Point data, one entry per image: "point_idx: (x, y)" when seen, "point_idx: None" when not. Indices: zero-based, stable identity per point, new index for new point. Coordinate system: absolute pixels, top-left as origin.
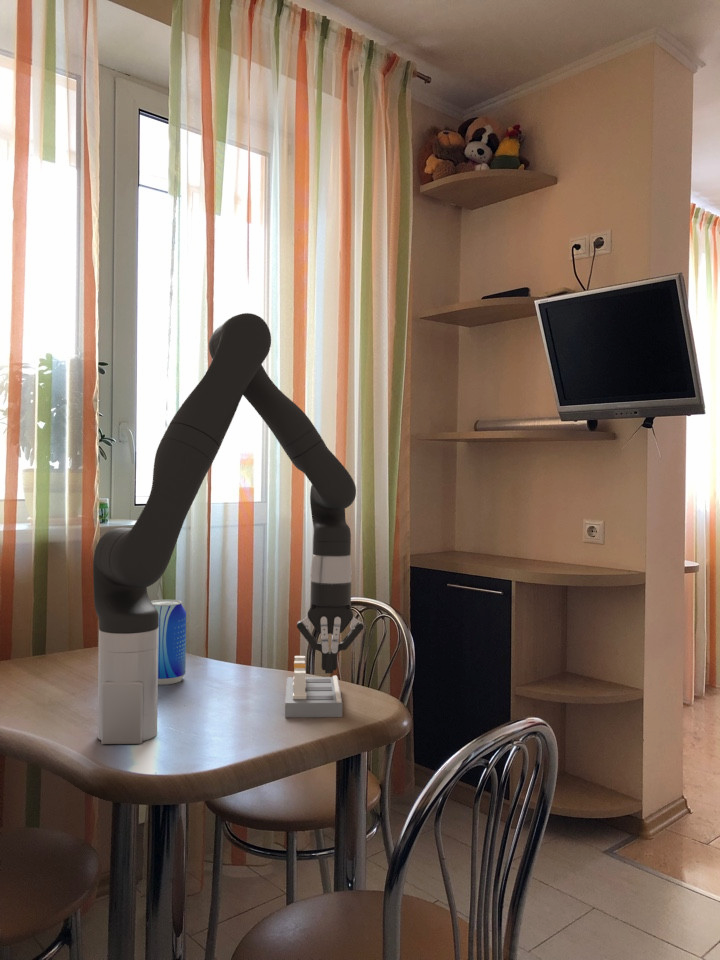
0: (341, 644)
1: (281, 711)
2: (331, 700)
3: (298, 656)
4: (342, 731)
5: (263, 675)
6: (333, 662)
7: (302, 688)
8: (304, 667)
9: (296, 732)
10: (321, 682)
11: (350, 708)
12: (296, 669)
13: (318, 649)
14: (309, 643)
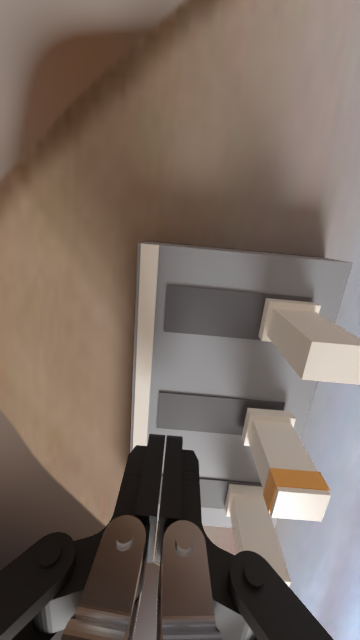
0: (63, 587)
1: None
2: (175, 277)
3: None
4: (161, 63)
5: None
6: (141, 476)
7: (293, 317)
8: (274, 470)
9: (327, 72)
10: None
11: (112, 327)
12: (305, 467)
13: (226, 559)
14: (306, 611)
